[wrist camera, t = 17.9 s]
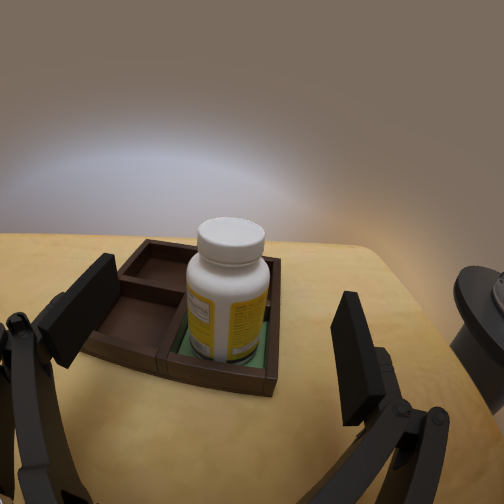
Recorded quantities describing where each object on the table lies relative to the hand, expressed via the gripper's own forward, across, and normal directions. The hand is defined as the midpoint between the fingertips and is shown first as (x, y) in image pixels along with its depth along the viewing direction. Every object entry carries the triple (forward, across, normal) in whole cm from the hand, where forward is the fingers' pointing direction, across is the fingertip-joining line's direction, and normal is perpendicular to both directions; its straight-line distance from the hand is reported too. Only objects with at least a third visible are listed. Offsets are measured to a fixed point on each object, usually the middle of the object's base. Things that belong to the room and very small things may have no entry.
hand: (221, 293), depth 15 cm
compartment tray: (+7, -4, -8) cm, 11 cm away
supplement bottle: (+3, 0, -8) cm, 8 cm away
